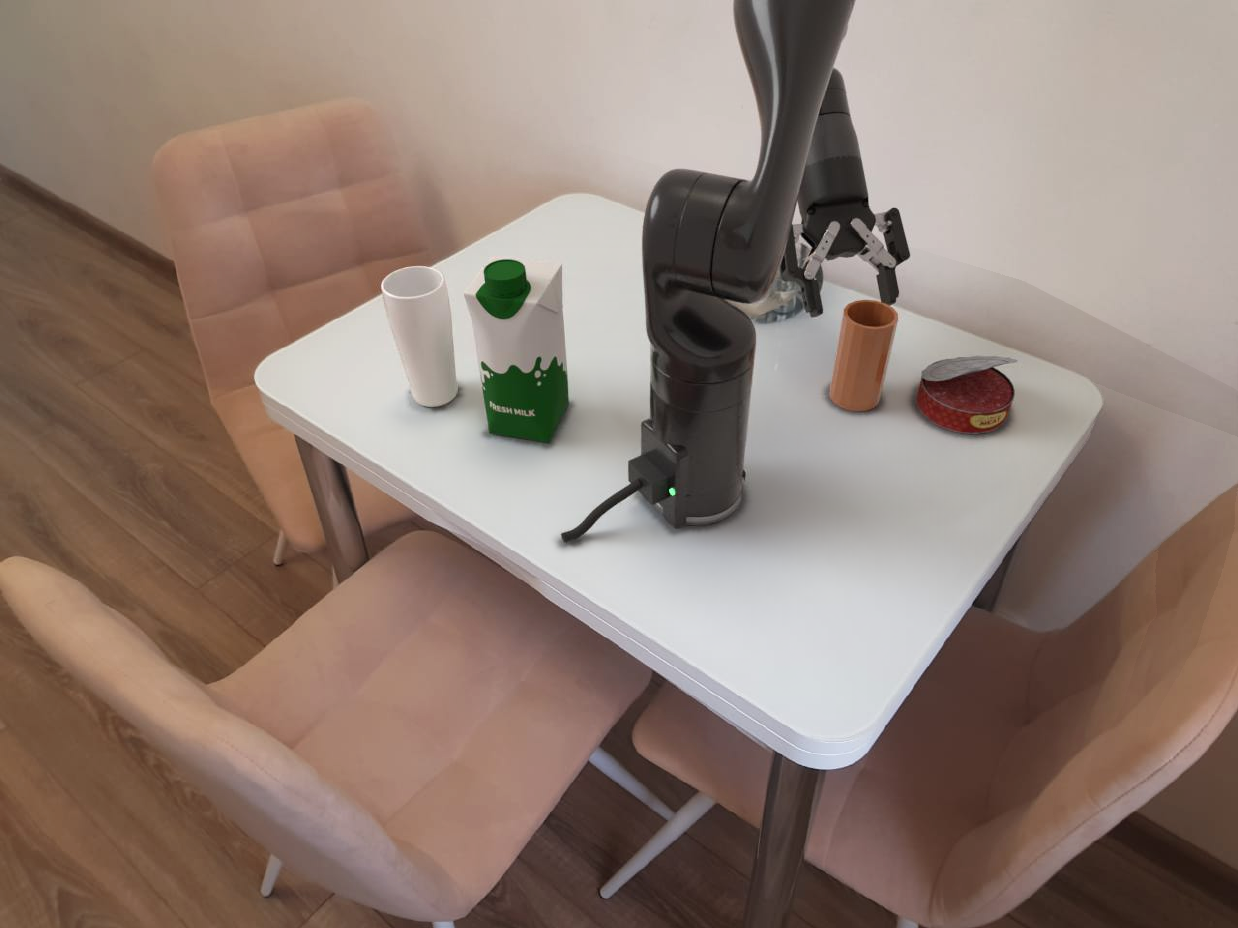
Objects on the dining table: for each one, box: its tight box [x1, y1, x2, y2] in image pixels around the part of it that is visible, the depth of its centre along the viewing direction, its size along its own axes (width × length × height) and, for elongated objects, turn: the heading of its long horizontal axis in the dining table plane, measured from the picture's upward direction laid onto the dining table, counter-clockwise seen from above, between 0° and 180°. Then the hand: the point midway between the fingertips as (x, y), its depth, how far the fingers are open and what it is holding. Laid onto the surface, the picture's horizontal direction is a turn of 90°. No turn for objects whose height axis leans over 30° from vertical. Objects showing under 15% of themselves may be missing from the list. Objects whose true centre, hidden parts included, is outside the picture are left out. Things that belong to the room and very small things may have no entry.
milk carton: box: [463, 254, 570, 444], centre depth 92 cm, size 9×9×20 cm
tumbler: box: [828, 299, 899, 412], centre depth 97 cm, size 6×6×11 cm
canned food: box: [915, 355, 1018, 435], centre depth 97 cm, size 11×10×10 cm
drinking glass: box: [380, 265, 459, 408], centre depth 97 cm, size 7×7×15 cm
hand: (853, 310), depth 97 cm, fingers open, 8 cm apart
